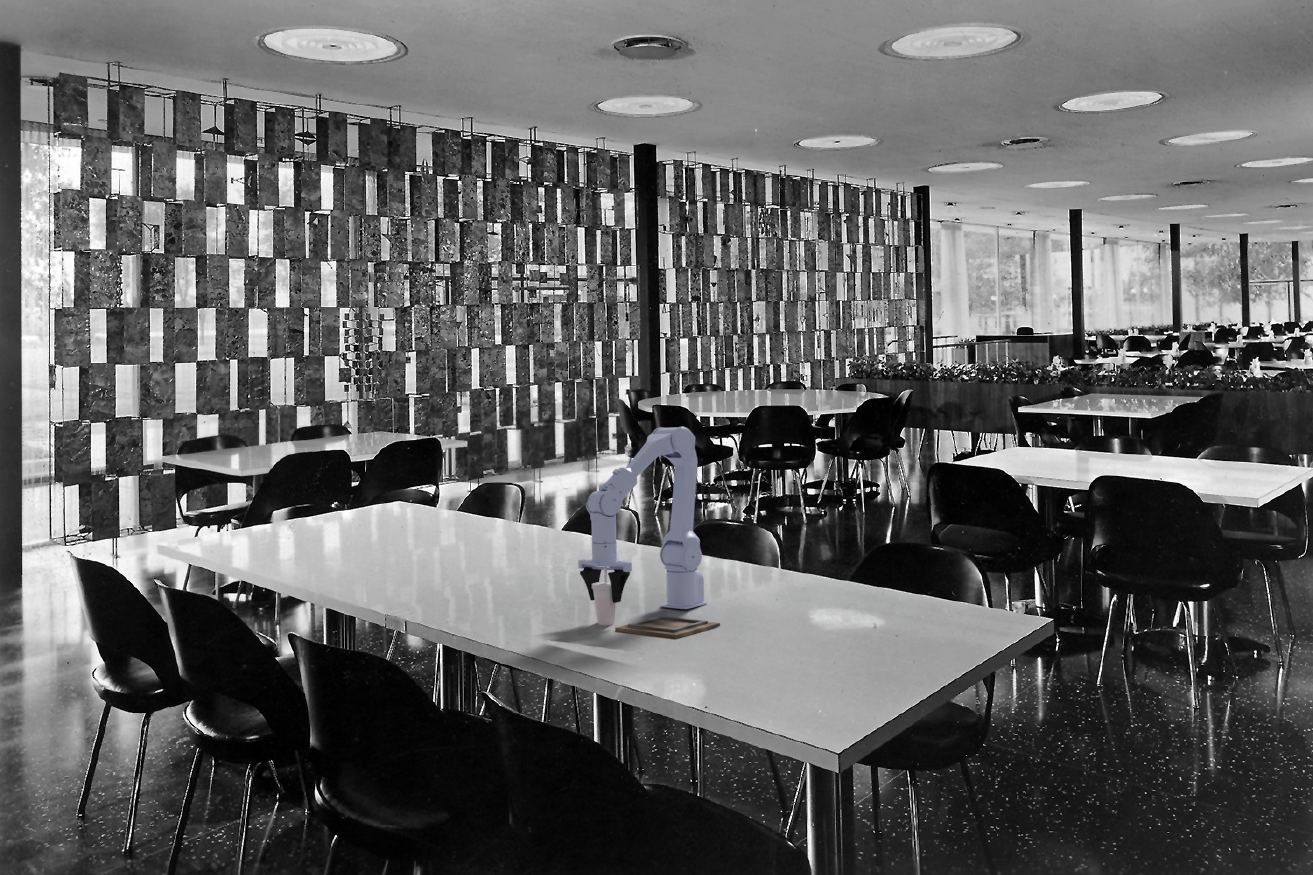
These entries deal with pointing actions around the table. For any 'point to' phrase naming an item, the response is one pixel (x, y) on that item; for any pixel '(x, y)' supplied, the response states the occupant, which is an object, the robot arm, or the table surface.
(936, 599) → the table surface
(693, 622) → the holder
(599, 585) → the smoothie
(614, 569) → the robot arm
